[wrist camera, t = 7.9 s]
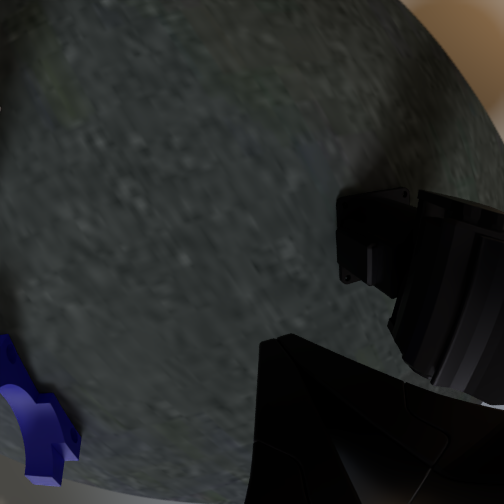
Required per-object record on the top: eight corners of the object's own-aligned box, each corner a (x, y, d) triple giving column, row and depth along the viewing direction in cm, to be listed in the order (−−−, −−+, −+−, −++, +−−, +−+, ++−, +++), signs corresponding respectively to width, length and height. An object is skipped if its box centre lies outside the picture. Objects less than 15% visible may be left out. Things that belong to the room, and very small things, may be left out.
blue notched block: (81, 436, 23) (75, 487, 17) (43, 437, 22) (33, 484, 16) (23, 330, 18) (-5, 380, 13) (-17, 335, 17) (-48, 380, 12)
